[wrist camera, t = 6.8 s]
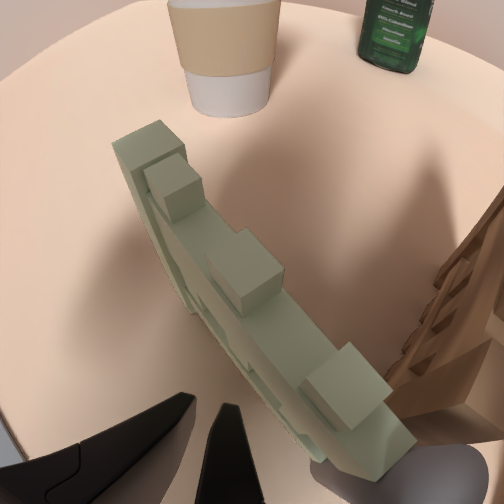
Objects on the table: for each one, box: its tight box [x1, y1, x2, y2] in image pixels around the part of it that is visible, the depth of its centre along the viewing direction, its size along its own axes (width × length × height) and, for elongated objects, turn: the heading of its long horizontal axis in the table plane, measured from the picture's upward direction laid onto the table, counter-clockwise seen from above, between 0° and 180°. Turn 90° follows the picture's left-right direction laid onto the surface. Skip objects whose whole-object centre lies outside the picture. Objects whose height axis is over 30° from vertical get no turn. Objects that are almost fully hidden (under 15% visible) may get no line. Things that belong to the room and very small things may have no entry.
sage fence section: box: [111, 120, 489, 504], centre depth 10 cm, size 12×2×10 cm, turn 36°
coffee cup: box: [167, 0, 281, 118], centre depth 21 cm, size 9×9×15 cm
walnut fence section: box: [383, 186, 504, 446], centre depth 11 cm, size 11×2×10 cm, turn 138°
